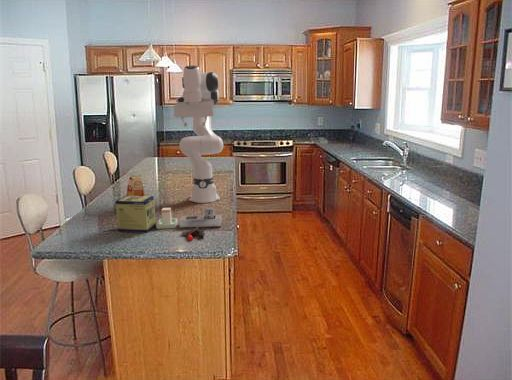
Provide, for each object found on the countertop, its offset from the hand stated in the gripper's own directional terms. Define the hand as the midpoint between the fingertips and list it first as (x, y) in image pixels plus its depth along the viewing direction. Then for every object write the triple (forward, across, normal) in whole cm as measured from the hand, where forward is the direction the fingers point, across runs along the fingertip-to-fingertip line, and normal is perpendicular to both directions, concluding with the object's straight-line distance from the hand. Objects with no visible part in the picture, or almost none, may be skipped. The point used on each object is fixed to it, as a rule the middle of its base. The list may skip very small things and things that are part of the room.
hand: (194, 126), depth 225 cm
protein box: (+48, +29, +20) cm, 60 cm away
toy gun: (+48, +2, +37) cm, 61 cm away
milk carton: (+48, +37, -20) cm, 64 cm away
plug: (+47, +15, +16) cm, 52 cm away
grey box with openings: (+48, -2, +22) cm, 52 cm away
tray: (+48, +15, +16) cm, 53 cm away
